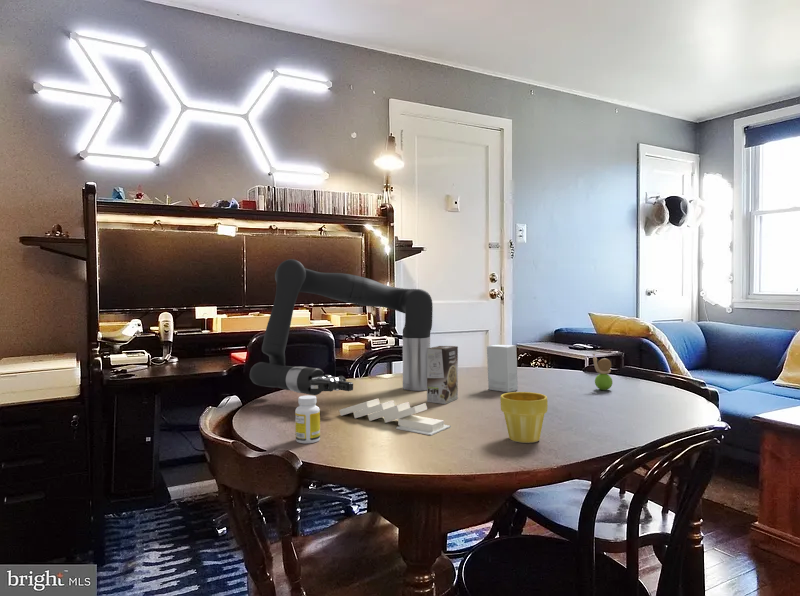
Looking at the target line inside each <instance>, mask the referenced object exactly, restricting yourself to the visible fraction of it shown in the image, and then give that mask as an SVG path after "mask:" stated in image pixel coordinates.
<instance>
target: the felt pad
mask: <svg viewBox="0 0 800 596" xmlns="http://www.w3.org/2000/svg"><path fill="white" fill-rule="evenodd" d="M451 427H452V426H451V425H447V424H444V427H443V428H440V429H438V430H436V431H433V432H432V431H426V430H421V429H416V428H410V427H405V426H399V425H398V426H396V427H395V429H396V430H399V431H400V430H401V431H406V432H411V433H415V434H421V435H428V436H433V435H435V434H438V433H440V432H442V431H444V430H448V429H450V428H451Z"/></svg>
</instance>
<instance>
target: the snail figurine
mask: <svg viewBox="0 0 800 596" xmlns="http://www.w3.org/2000/svg"><path fill="white" fill-rule="evenodd" d="M592 357H593V358H592V361H593V366H594V369H595V372H597V373H598V375H596V376H595V379H594V384H595V386H596V388H597V389H599V390H601V391H608V390H609V389H610V388H612V385H613V379H612V377H611V376H610V375H609V374H610V373H611V371H612V370H611V369H612V361H611V360H610V359H608V358H605V357H604V358H601V359H600V360H598V358H597V356H596V354H595V353H592Z"/></svg>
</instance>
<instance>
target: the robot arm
mask: <svg viewBox="0 0 800 596" xmlns="http://www.w3.org/2000/svg"><path fill="white" fill-rule="evenodd" d="M274 280H275V283H276V287H275V288H276V289H275V290H276V291H275V295H274V296H275V297H274V301H273V305H272V309H271V312H270V315H269V319H268V322H267V325H266V328H265V332H264V336H263V340H262V341H263V342H262V344H261V352H262V353H263V354H265V355H266V356H268V359H269V362H266V361H265V362H264V361H259V362H257V363H255V364H254V365H253V366H252V367H250V371H249V379H250V380H251V382H252V383H253V384H254V385H257V386H260V387H267V388H279V389H281V390H284V391H285V390H286V391H291V392H295V393H299V394H304V395H312V396H317V395H320V394H321V393H322V392H330V393H331V392H333V391H346V392H351V391H353V390H354V383H353V381H347V378H346V377H344V376H343V375H339V376H337V377H336V376H332V375H330V374H326V373H325V372H324V371H323V370H322V369H321V368H318V367H311V366H310V367H308V366H295V365H292V366H291V365H286V353H285V351H286V349H287V348H286V347H287V343H288V339H289V334H290V330H291V323H292V318H293V314H294V309H295V305H296V302H297V299H298V295H299V293H308V294H312V295H313V294H314V295H319V296H323V297H325V298H329V299H331V300H336V301H339V302H343V303H347V304H352V305H357V306H362V307H363V306H365V307H375V308H376V307H377V308H386V309H388V310H389V309H390V310H393V311H396V312H398V313H402V314H404V315H405V316H404V317H405V318H404V321H405V322H404V327H403V328H402V389H403V390H406V391H407V390H408V391H412V392H413V391H416V392H417V391H419V392H420V391H427V348H431V331H432V329H433V328H432V327H433V300H432V299H433V298H432V297H431V295H430V293H429V292H428V291H426V290H424V289H420V288H403V287H394V286H389V285H386V284H384V283H381V282H379V281H376V280H374V279H371V278H367V277H363V276H359V275H357V274H356V275H355V274H350V273H341V272H323V271H322V272H320V271H315V270H313V269H308V268H306V267H305V266H304V265H303V264H302V263H301V261H298V260H296V259H292V258H290V259H286V260H284V261H282V262H281V263H280V264H278V266H277V268H276V271H275V272H274Z"/></svg>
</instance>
